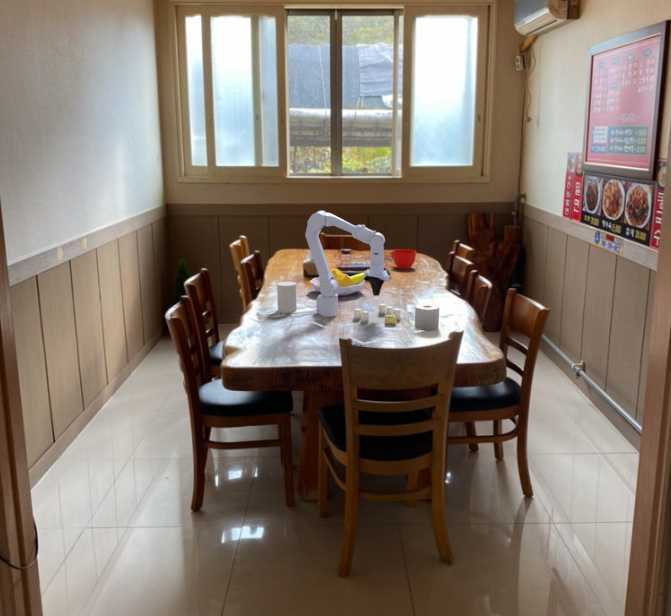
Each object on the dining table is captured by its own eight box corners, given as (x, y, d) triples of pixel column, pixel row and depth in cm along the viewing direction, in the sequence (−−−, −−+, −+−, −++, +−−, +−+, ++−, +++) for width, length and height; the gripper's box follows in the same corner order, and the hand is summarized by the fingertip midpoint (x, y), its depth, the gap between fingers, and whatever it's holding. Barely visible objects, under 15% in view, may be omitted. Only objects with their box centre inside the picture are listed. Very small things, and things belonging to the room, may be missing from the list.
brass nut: (382, 323, 259) (382, 316, 258) (390, 321, 262) (391, 314, 261) (390, 326, 256) (390, 319, 255) (398, 324, 259) (399, 317, 258)
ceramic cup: (399, 264, 384) (399, 247, 381) (420, 268, 371) (420, 251, 369) (383, 266, 376) (383, 249, 373) (404, 271, 363) (404, 253, 361)
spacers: (352, 318, 266) (352, 309, 265) (382, 312, 275) (382, 303, 274) (371, 325, 256) (371, 315, 255) (401, 319, 265) (402, 309, 264)
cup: (299, 308, 284) (298, 282, 281) (292, 313, 277) (292, 286, 274) (281, 307, 286) (281, 281, 283) (275, 312, 279) (274, 285, 276)
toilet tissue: (434, 321, 265) (435, 301, 263) (439, 331, 252) (440, 309, 250) (412, 321, 265) (413, 301, 263) (416, 330, 252) (417, 309, 250)
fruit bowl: (304, 297, 304) (303, 274, 301) (319, 285, 330) (319, 263, 327) (362, 301, 298) (362, 277, 295) (373, 288, 323) (373, 266, 320)
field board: (350, 320, 266) (350, 318, 266) (382, 314, 276) (382, 312, 276) (370, 327, 256) (370, 325, 256) (402, 320, 266) (402, 319, 265)
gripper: (395, 264, 260) (395, 297, 263) (373, 259, 271) (373, 290, 275) (382, 266, 256) (381, 299, 260) (360, 261, 268) (359, 292, 271)
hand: (376, 295), depth 267 cm, fingers closed
